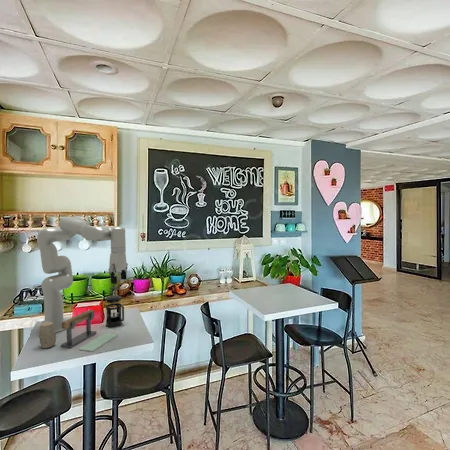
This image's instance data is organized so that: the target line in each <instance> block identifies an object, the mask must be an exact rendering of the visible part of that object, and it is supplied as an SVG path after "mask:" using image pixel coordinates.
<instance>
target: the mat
mask: <svg viewBox="0 0 450 450" xmlns="http://www.w3.org/2000/svg"><path fill="white" fill-rule="evenodd" d="M118 336H119V335H118V334H116V333H108V332H107V333H106V332H105V333H103V334H102V335H100V336H98V337H97V338H95V339H93V340H91V341H90V342H88V343H86V344H85V345H83V346H81V347H80V348H78V350H79V351H84V352H91V353H94V352H95V351H96V350H98V349H100V348H102V347H103V346H104V345H106V344H108V343H109V342H110V341H112V340H113V339H115V338H116V337H118Z"/></svg>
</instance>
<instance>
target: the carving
mask: <svg viewBox="0 0 450 450" xmlns="http://www.w3.org/2000/svg"><path fill="white" fill-rule="evenodd" d="M38 330H39V331H38V339H39V343H40V347H41V348H42V349H47V348H51V347H53V346H54V345H56V343H57V334H56V333H55V327H54V323H53V322H45V323H43V324H41V323H40V325H39V329H38Z"/></svg>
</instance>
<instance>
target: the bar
mask: <svg viewBox="0 0 450 450" xmlns="http://www.w3.org/2000/svg"><path fill="white" fill-rule="evenodd" d="M83 312H84V313H83ZM83 312H81V313H80V314H77V315H75V316H73V317H72V318H71V317H70V318H69V319H66V321H65V320H63V321H64V322H62V328H63V329H65V330H67V329H68V328H70V327H71V322H73V321H75V326H76V325H78V324H81V323H82V322H85V321H86V319H88V318H90V313H92V312H93V313H94V314H95V310H93V309H89V310H86V311H83Z"/></svg>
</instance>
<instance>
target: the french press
mask: <svg viewBox="0 0 450 450" xmlns="http://www.w3.org/2000/svg"><path fill="white" fill-rule="evenodd" d="M117 288H118V287H116V286H112V287H109V289H110V290H112V295H110V296H106V297H105V300H106V303H107V305H106V306H105V310H106V320H105V323H106V324H105V327H106V328H108V329H109V328H110V329H111V328H112V329H113V328H119V327H121V326H122V325H123V322H124V321H125V307H124V305H122V303H119V302H121V300H122V295H115V293H114V292H115V290H116V289H117ZM115 310H116V312H115ZM112 311H113V312H112Z"/></svg>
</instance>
